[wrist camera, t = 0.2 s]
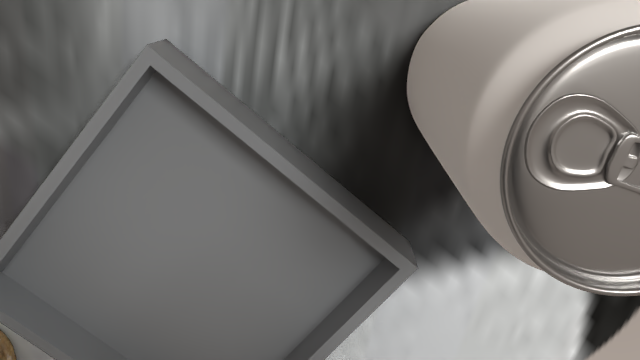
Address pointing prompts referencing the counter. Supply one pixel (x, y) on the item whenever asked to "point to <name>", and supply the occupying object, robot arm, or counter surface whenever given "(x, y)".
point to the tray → (192, 235)
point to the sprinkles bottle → (6, 348)
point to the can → (541, 129)
